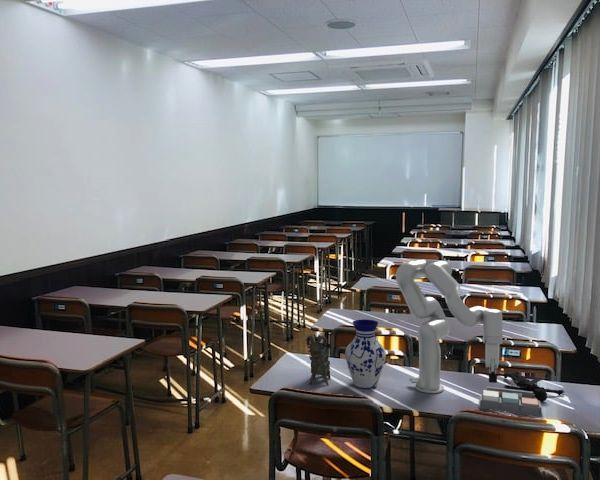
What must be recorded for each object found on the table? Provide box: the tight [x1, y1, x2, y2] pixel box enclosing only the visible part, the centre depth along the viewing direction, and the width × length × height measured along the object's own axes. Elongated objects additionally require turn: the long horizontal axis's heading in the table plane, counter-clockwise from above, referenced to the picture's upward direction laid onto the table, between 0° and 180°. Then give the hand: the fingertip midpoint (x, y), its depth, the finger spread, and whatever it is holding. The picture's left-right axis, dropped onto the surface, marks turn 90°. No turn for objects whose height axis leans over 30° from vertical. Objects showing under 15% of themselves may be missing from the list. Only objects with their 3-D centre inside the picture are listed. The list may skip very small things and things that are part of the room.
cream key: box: [482, 389, 499, 402], centre depth 215 cm, size 6×6×3 cm
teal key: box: [502, 392, 518, 404], centre depth 212 cm, size 6×6×3 cm
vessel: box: [305, 333, 332, 386], centre depth 244 cm, size 11×25×24 cm, turn 170°
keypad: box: [478, 386, 544, 417], centre depth 213 cm, size 24×11×6 cm, turn 69°
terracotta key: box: [521, 397, 538, 407], centre depth 209 cm, size 6×6×3 cm
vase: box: [344, 319, 387, 390], centre depth 239 cm, size 19×19×30 cm
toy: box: [502, 372, 566, 403], centre depth 232 cm, size 29×7×30 cm
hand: (492, 381), depth 214 cm, fingers closed
